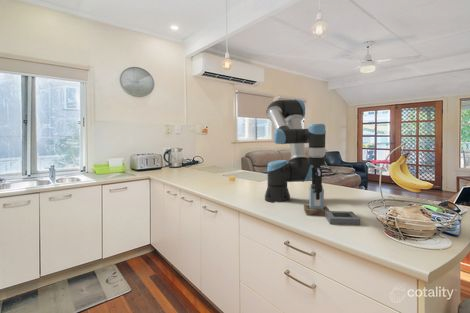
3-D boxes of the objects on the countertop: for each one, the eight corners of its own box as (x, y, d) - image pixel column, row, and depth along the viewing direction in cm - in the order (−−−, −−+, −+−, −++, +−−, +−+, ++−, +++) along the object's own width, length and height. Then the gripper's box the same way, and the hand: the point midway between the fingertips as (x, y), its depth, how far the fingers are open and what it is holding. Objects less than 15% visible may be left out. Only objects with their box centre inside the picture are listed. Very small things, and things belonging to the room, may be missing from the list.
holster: (306, 216, 115) (306, 210, 115) (304, 210, 123) (304, 204, 123) (329, 216, 114) (329, 210, 113) (325, 211, 122) (325, 205, 122)
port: (330, 225, 103) (330, 217, 103) (325, 217, 113) (325, 210, 113) (360, 226, 101) (360, 218, 101) (352, 217, 111) (352, 210, 111)
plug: (310, 213, 117) (310, 185, 116) (309, 211, 121) (309, 184, 120) (323, 214, 116) (323, 186, 115) (321, 211, 120) (322, 184, 119)
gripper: (329, 158, 107) (328, 210, 109) (321, 154, 124) (320, 199, 126) (311, 158, 108) (311, 209, 110) (306, 154, 125) (305, 199, 127)
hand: (316, 204), depth 118 cm, fingers closed on plug, 4 cm apart
